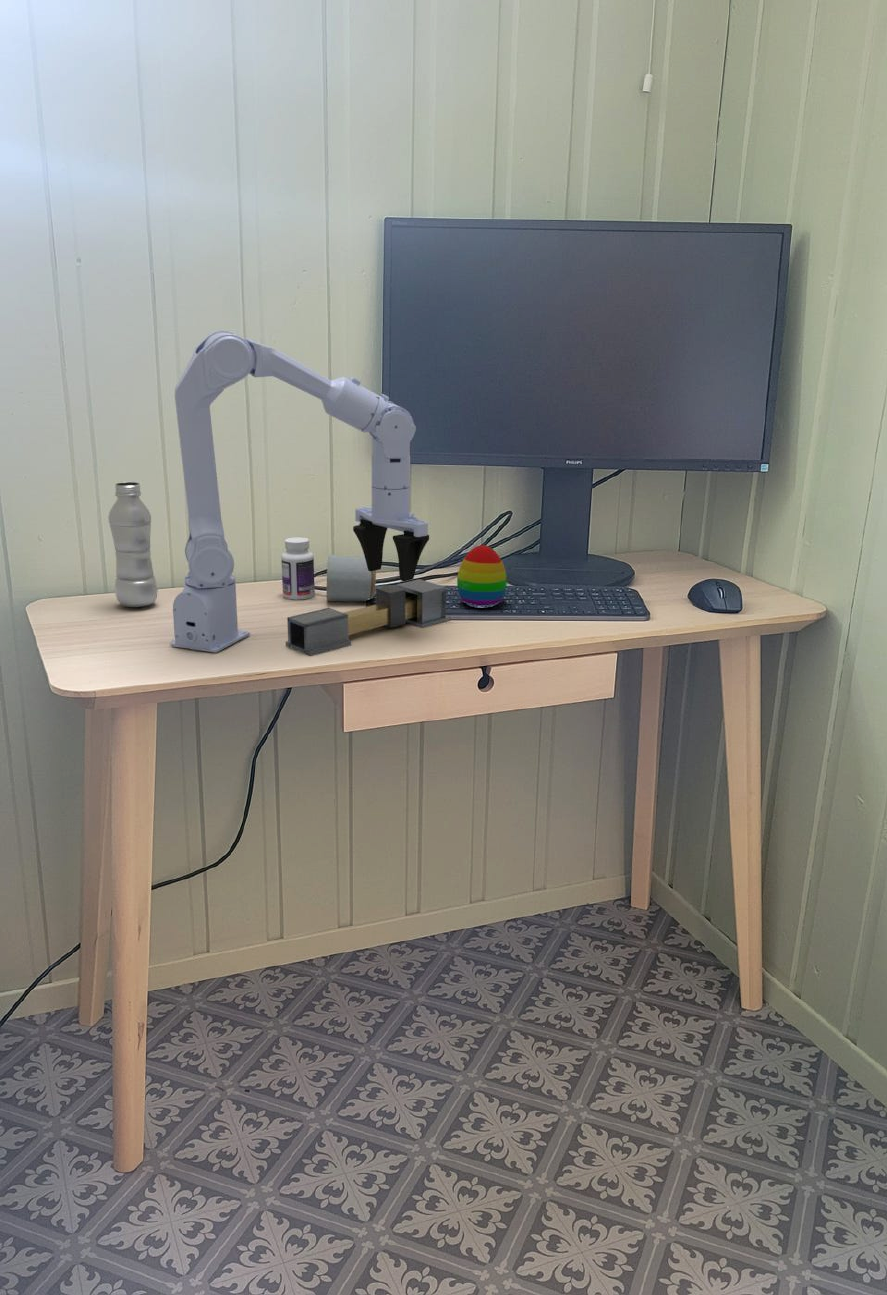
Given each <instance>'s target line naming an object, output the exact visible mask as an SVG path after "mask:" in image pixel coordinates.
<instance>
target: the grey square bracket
mask: <svg viewBox="0 0 887 1295" xmlns="http://www.w3.org/2000/svg"><path fill="white" fill-rule="evenodd" d="M395 587H398V588H402V589H405V598H406V597H410V596H414V595H417V617H414V618H411V619H407V620H405V623H408V624H410V625H413V626H417V627H419V628H426V627H430V626H433V625H436V624H441V623H444V622H448V621H451V616H449V615H446V614H447V613H446V612H447V608H446V607H447V586H444V585H440V584H437V583H434V582H431V581H427V580H423V579H415V580H414V579H413V580H409V581H404V582H402V583H398V584H395Z"/></svg>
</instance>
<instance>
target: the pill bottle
mask: <svg viewBox="0 0 887 1295" xmlns="http://www.w3.org/2000/svg"><path fill="white" fill-rule="evenodd" d="M284 548H285V550H286V551H285V552H282V554H281V580H282V582H281V583H282V584H281V585H282V596H283V597H284V598H285V599H289V600H295V601H296V600H297V601H298V600H299V601H300V600H309V599H311V598H313V597H314V596H315V593H316V592H315V591H316V590H315V589H316V587H315V585H316V584H315V561H314V558H315V557H314V554H313V553H312V551H309V549H310V539H309V538H307V537H301V536H300V537H290V538H289V537H288V538H286V539H285V540H284Z"/></svg>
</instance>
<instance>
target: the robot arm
mask: <svg viewBox="0 0 887 1295" xmlns="http://www.w3.org/2000/svg"><path fill="white" fill-rule="evenodd" d="M183 370H184V371H183V372H182V374H181V375H180V378H179V379H178V381H177V384H176V385H175V388H174V401H175V411H176V418H177V419H176V420H177V429H178V436H179V437H178V438H179V448H180V454H181V455H180V456H181V465H182V471H183V473H182V474H183V481H184V488H185V489H184V490H185V497H186V498H185V499H186V507H187V518H188V519H187V520H188V521H187V522H188V538H187V540H186V542H185V547H184V556H185V558H186V561H187V563H188V569H189V571H188V573H187V574H186V576H184V585H183V586H184V587H183V589H182V591H181V592H180V593H179V594H177V595H176V597H175V598H174V600H173V603H172V620H173V632H174V640H173V641H170V642H169V646H171V647H176V648H183V649H188V648H189V649H190V650H197V651H203V652H210V653H219V652H220V651H223V649H225V648H228V647H230V646H232V645H233V644H235V643H237V642H238V641H239V642H240V640H242V639H245V638H246V637H248V636H249V635H251V632H250V631H249V630H242V629H239V628H238V627H239V624H238V609H237V588H236V587H237V586H236V585H237V584H236V576H235V575H234V574H233V572H234V569H235V562H234V557H233V555H232V553H231V551H230V550H229V546H228V543H227V541H226V539H225V532H224V527H223V521H222V520H223V519H222V514H221V513H222V511H221V504H220V494H219V482H218V476H217V475H218V474H217V464H216V456H215V455H216V454H215V446H214V437H213V427H212V419H211V418H212V416H211V408H210V407H211V404H212V403H213V402H214V401H215V400H216V399H217V398H218V397H219V396H220V395H221V394H222V393H223V392H224V390H225V389H228V388H229V387H231V386H233V385H235V384H236V383H238V382H240V381H242V380H244V379H245V378H246V377H247V376H248V375H249V374H250V375H251V376H252V377H254V378H264V377H265V378H266V377H273V378H276V379H279V381H282V382H285V383H286V384H289V385H291V386H293V387H295V388H297V389H298V390H301V391H303V392H305V393H307V394H309V395H311V396H313V397H315V398H317V399H319V400H321V402H322V406H323V408H324V412H325V414H327V415H330V416H331V417H333V418H335V419H337V420H339V421H340V422H343V423H345V424H347V425H349V426H351V427H352V428H354V429H356V430H358V431H360V432H363V433H369V435H370V437H371V438H372V439H371V442H372V443H371V444H372V445H371V447H372V448H371V450H372V454H371V508H370V507H359V508H355V509H354V510H355V511H354V512H355V515H354V516H355V517H354V520H355V522H358V523H359V524H358V525H353V527H352V528H353V529H352V530H353V532H354V535H355V536H356V538H357V539H358V542H359V544H360V547H361V549H362V553H363V555H364V558H365V560H366V564H367V568H368V571H375V570H376V571H380V570H381V569H382V565H383V554H384V543H385V539H386V535H387V531H388V529H391V530H395V531H398V532H402V533H403V534H401V533H400V534H395V535H393V536H392V541H393V543H394V545H395V549H396V552H397V554H396V555H397V559H398V572H399V573H398V574H399V579H400V581H401V582H409V581H414V578H415V574H416V571H417V568H418V567H417V566H418V563H419V560H420V557H421V555H422V552H423V550H424V549H425V547H426V545H427V544H428V542H429V540H430V534H429V522H427V521H423V520H421V519H419V518H418V517H415V513H414V512H411V511H410V510H411V509H410V508H411V506H410V504H411V455H410V454H411V452H410V450H411V449H410V448H411V446H410V445H411V444H410V443H411V441H412V440H413V438H414V436H415V435H416V434H415V433H416V431H417V426H416V425H415V423H414V420H413V419H414V418H413V417H412V416H411V413H410V412H409V411H408V410H407V409H405V408H404V407H402V406H400V405H397V404H395V403H394V402H393V401H390V397H389V396H388V395H385V394H383V393H382V394H381V395H378V394H377V393H375V392H373V391H371V390H370V389H368V388H366V387H364V386H362V385H361V382H362V381H361V380H359V379H358V378H357V377H354V376H351V377H350V379H349V378H348V377H346V376H340V377H337V378H335V379H329V378H327V377H326V376H324V375H322V374H321V373H319V372H316V371H315V370H314V369H311V368H309V367H307V366H306V365H304V364H302V363H301V362H299V361H297V360H295V359H294V358H291V357H289V356H288V355H287V354H285V353H283V352H281V351H279V350H278V349H276V348H274V347H272V346H268V345H266V344H263V343H261V342H260V343H259V342H257V341H254V340H251V339H248V338H245V337H244V338H243V337H242V336H239V335H238V334H235V333H233V332H230V331H227V330H219V331H214V332H212V333H211V334H210V335H208V336H206V338H205V339H203V340H202V341H201V342H200V343H199V344H198V345H197V346H196V347H195V348H194V351H193V353H192V355H191V357H190V359H189V361H188V363H187V365H186V367H185V369H183ZM189 649H188V650H189Z"/></svg>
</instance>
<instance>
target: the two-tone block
mask: <svg viewBox="0 0 887 1295" xmlns="http://www.w3.org/2000/svg"><path fill="white" fill-rule="evenodd" d="M375 603H376V604H373V605H367V606H365V607H360V608H356V609H353V610H352V609H351V610H348V611H344V612H343V611H342V613H345V614H348V636H349V635H351V634H356V633H360V632H365V631H368V630H371V629H376V628H379V627H383V626H384V627H387V628H395V627H400V626H404V625H406V622H405V620H407V619H411V618H414V617H417V595H414V596H410V597H406V598H405V589H402V588H398V587H396V585H390V584H389V585H387V586H382V587H376V588H375Z"/></svg>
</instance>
